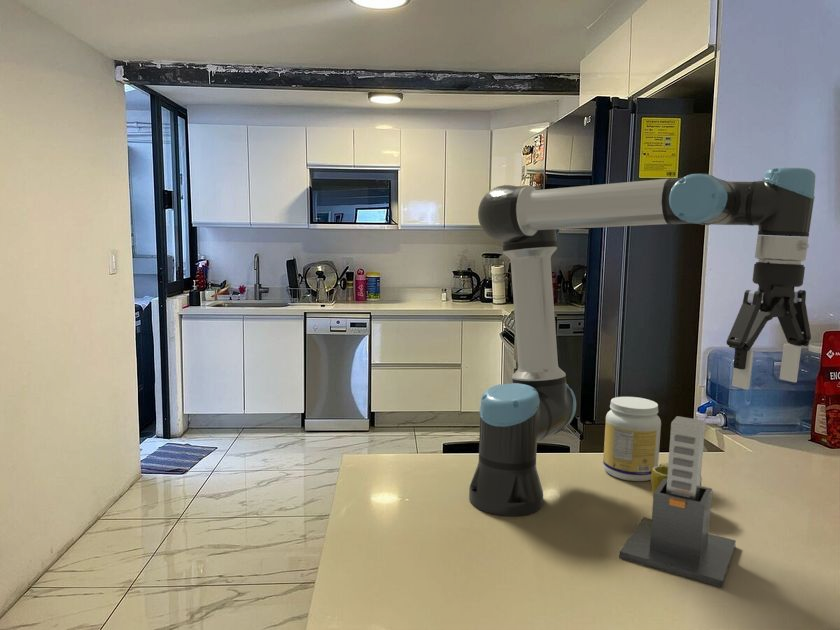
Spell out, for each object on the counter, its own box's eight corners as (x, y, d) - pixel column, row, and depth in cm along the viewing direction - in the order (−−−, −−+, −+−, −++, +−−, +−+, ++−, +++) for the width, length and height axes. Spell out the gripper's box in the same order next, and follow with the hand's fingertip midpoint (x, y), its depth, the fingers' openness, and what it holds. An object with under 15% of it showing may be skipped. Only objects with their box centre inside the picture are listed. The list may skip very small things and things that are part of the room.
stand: (619, 557, 107) (623, 495, 106) (642, 522, 120) (646, 466, 119) (722, 588, 98) (728, 520, 97) (735, 546, 112) (740, 486, 110)
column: (661, 547, 108) (670, 423, 105) (668, 535, 112) (676, 416, 109) (690, 554, 105) (700, 428, 103) (695, 542, 110) (705, 420, 107)
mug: (716, 515, 120) (700, 463, 121) (661, 525, 122) (646, 474, 124) (704, 501, 132) (690, 454, 133) (654, 511, 134) (641, 464, 135)
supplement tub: (612, 459, 154) (616, 392, 152) (663, 471, 147) (668, 401, 145) (594, 474, 145) (598, 403, 142) (648, 487, 138) (653, 412, 135)
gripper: (755, 263, 97) (739, 396, 100) (843, 263, 109) (827, 382, 112) (712, 259, 103) (698, 385, 106) (800, 260, 115) (786, 373, 118)
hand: (764, 384), depth 109 cm, fingers open, 13 cm apart
